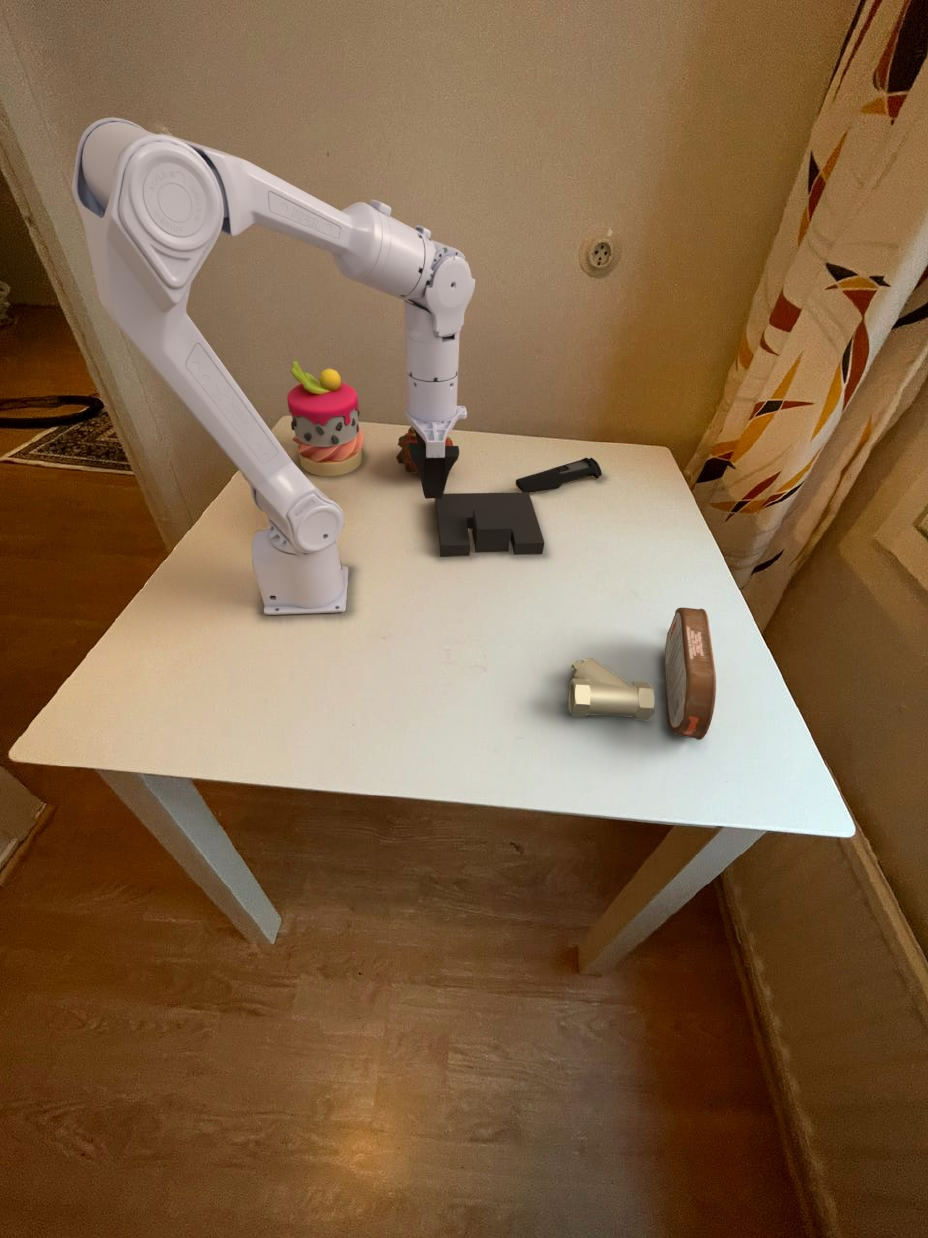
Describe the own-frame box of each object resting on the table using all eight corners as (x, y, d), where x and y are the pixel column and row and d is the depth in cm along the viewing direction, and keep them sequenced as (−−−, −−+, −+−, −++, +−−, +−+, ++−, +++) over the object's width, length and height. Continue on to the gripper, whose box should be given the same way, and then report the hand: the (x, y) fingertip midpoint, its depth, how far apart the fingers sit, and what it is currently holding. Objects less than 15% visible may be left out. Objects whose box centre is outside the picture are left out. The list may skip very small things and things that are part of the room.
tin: (695, 756, 56) (727, 707, 50) (662, 750, 56) (691, 700, 50) (684, 645, 66) (710, 593, 60) (657, 640, 66) (680, 588, 60)
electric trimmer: (508, 490, 87) (510, 472, 85) (588, 467, 92) (592, 450, 90) (521, 503, 85) (524, 485, 83) (602, 479, 90) (607, 461, 88)
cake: (351, 438, 95) (342, 347, 85) (373, 469, 89) (365, 374, 78) (290, 450, 92) (272, 356, 81) (308, 483, 85) (291, 386, 75)
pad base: (440, 556, 75) (440, 545, 73) (434, 504, 83) (435, 493, 82) (542, 554, 76) (544, 542, 75) (527, 503, 85) (529, 492, 83)
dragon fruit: (416, 501, 86) (423, 470, 96) (462, 472, 83) (465, 443, 93) (382, 456, 82) (393, 428, 91) (429, 424, 79) (435, 399, 88)
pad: (475, 552, 76) (477, 529, 73) (471, 531, 79) (473, 508, 76) (508, 551, 76) (511, 528, 73) (503, 531, 79) (506, 507, 77)
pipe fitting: (563, 673, 63) (569, 722, 57) (569, 649, 60) (576, 697, 55) (634, 677, 63) (647, 726, 58) (643, 653, 60) (657, 701, 55)
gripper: (475, 401, 56) (468, 512, 66) (462, 345, 66) (457, 449, 76) (405, 401, 56) (409, 513, 65) (402, 345, 66) (405, 450, 75)
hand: (431, 479), depth 71 cm, fingers open, 7 cm apart
